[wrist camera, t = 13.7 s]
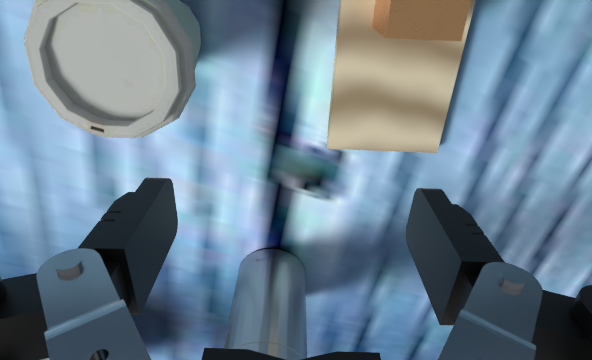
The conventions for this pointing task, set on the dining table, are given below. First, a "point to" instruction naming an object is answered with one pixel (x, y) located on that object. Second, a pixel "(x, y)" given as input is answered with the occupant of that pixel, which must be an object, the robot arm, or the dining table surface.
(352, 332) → the dining table surface
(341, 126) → the board
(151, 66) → the disposable coffee cup
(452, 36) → the cardboard box
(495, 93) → the dining table surface
